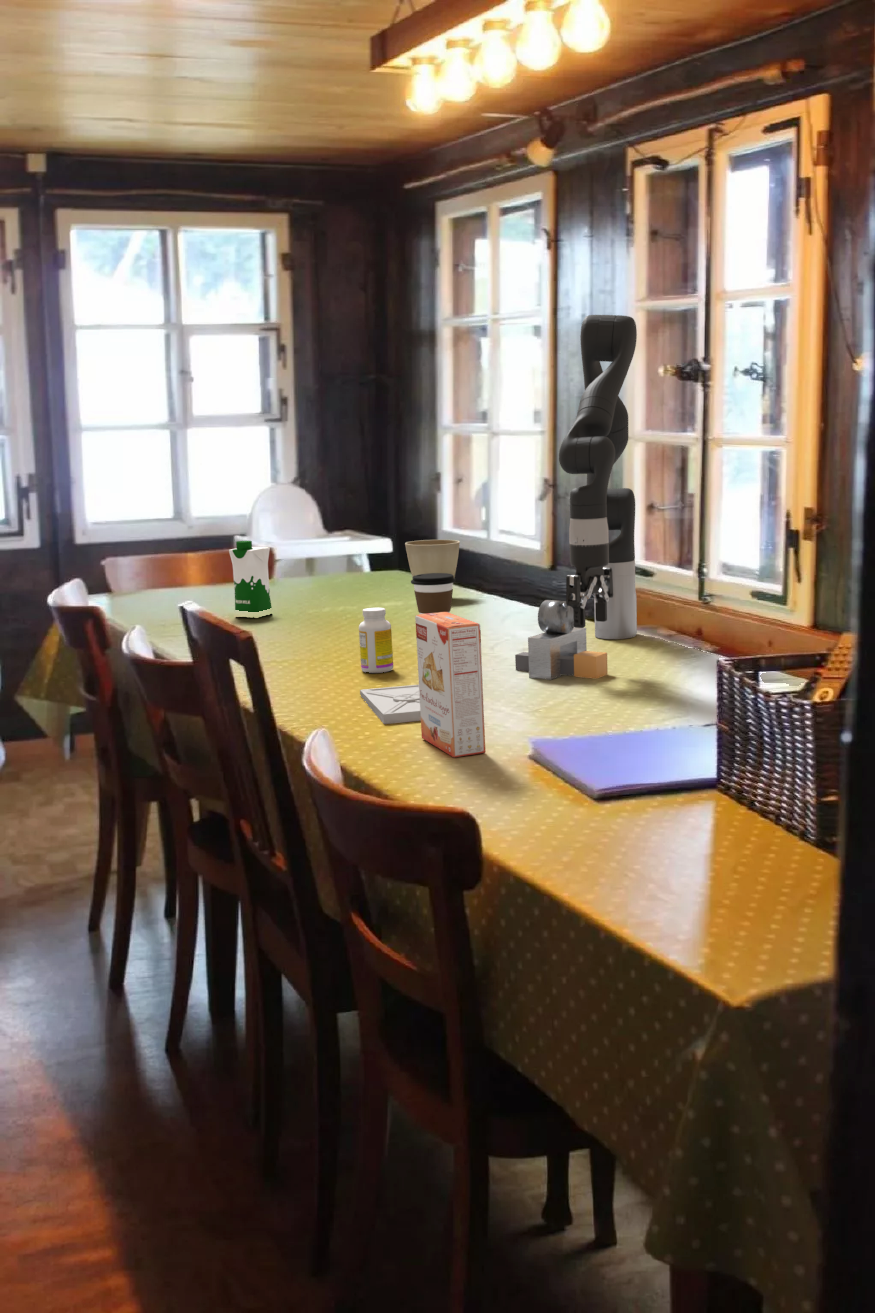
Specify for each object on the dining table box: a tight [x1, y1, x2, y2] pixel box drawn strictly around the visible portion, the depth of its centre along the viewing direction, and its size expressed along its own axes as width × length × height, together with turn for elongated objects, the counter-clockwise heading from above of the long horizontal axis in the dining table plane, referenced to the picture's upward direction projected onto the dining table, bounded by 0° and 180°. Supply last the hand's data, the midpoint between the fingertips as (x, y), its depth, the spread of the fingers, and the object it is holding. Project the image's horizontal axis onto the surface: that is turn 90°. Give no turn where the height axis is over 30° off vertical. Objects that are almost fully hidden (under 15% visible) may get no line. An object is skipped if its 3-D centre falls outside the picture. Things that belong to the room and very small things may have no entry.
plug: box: [514, 650, 609, 680], centre depth 276 cm, size 19×4×4 cm, turn 54°
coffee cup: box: [410, 573, 457, 615], centre depth 340 cm, size 11×11×12 cm
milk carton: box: [228, 540, 273, 612], centre depth 363 cm, size 9×9×20 cm
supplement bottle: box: [358, 607, 394, 674], centre depth 285 cm, size 7×7×13 cm
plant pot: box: [404, 539, 461, 577], centre depth 379 cm, size 15×15×16 cm
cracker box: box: [415, 612, 486, 758], centre depth 220 cm, size 14×6×21 cm, turn 22°
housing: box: [527, 599, 588, 681], centre depth 276 cm, size 14×5×14 cm, turn 144°
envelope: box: [359, 684, 421, 725], centre depth 252 cm, size 24×2×14 cm
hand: (590, 624), depth 270 cm, fingers open, 8 cm apart
